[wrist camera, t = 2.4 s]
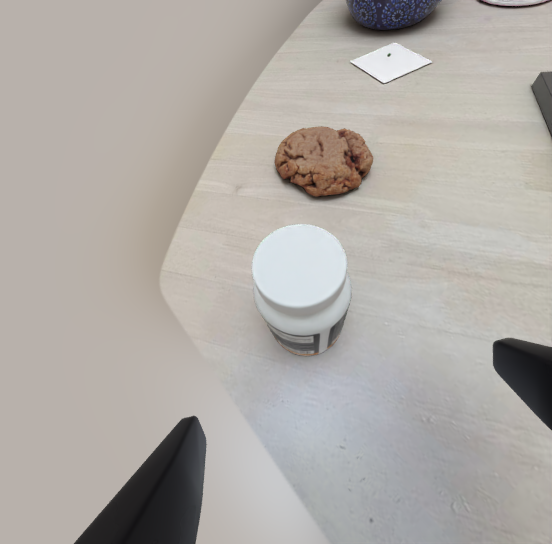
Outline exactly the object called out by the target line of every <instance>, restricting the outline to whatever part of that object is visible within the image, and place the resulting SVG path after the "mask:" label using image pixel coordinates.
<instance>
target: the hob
mask: <svg viewBox="0 0 552 544" xmlns="http://www.w3.org/2000/svg"><path fill="white" fill-rule="evenodd" d="M532 89H533V91H534V94H535V96H536V98H537V101H538V103H539V106H540V108H541V111H542V113H543V116H544V118H545V121H546V123H547V125H548V128H549V130H550V133H551V135H552V72H541V73H540V74H539V75H538V77H537V78H536V80H535V82H534V83H533V85H532Z"/></svg>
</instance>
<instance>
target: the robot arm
mask: <svg viewBox="0 0 552 544" xmlns="http://www.w3.org/2000/svg"><path fill="white" fill-rule="evenodd" d="M493 366H494V368H495V370H496V372H497V373H498V374H499V375H500V377H501V378H502V379H503V380H504V381H505V382H506V383H507V384H508V385H509V386H510V387H511V388H512V389H513V391H514V392H515V393H516V394H517V395H518V396H519V397H520V398H521V399H522V400H523V401H524V402H525V403H526V405H527V406H528V407H529V408H530V409H531V410H532V411H533V412H534V413H535V414H536V415H537V416H538V417H539V418H540V419H541V420H542V421H543V422H544V423H545V424H546V425H547V426H548V427H549V428H550V429H551V430H552V347H548V346H544V345H540V344H535V343H531V342H527V341H522V340H518V339H514V338H505V339H501V340H497V341H495V342H494V343H493ZM205 454H206V437H205V434H204V432H203V429H202V427H201V425H200V422H199V420H198V418H197V417H196V416H191V417H187V418H184V419H182V420H181V421H180V422H179V423H178V424H177V425H176V426H175V427H174V429H173V430H172V431H171V432H170V433H169V434H168V435H167V437H166V438H165V439H164V440H163V441H162V442H161V444H160V445H159V446H158V447H157V448H156V449H155V451H154V452H153V453H152V454H151V455H150V456H149V457H148V459H147V460H146V461H145V462H144V463H143V464H142V466H141V467H140V468H139V469H138V470H137V471H136V473H135V474H134V475H133V476H132V477H131V478H130V479H129V481H128V482H127V483H126V484H125V485H124V486H123V487H122V489H121V490H120V491H119V492H118V493H117V494H116V495H115V497H114V498H113V499H112V500H111V501H110V502H109V504H108V505H107V506H106V507H105V508H104V509H103V510H102V512H101V513H100V514H99V515H98V516H97V517H96V519H95V520H94V521H93V522H92V523H91V524H90V525H89V527H88V528H87V529H86V530H85V531H84V532H83V534H82V535H81V536H80V537H79V538H78V540H76V542H75V543H74V544H195V542H196V537H197V531H198V525H199V518H200V513H201V505H202V495H203V483H204V469H205V456H206V455H205Z"/></svg>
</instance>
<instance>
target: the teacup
mask: <svg viewBox="0 0 552 544" xmlns="http://www.w3.org/2000/svg"><path fill="white" fill-rule="evenodd" d="M482 1H484V2H487V3H490V4H496V5H502V6H522V5H532V4H537V3H542V2H545V1H548V0H482Z"/></svg>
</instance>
